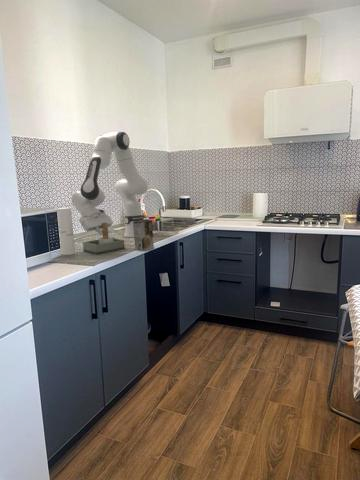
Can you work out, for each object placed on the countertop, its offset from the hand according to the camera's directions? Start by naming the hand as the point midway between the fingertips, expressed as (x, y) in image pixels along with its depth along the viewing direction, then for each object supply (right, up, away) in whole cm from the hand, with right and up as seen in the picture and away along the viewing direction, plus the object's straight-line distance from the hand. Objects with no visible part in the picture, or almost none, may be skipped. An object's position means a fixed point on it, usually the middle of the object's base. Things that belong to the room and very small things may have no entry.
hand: (105, 233), depth 201 cm
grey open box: (-1, -9, +4) cm, 10 cm away
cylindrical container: (-20, -11, -3) cm, 23 cm away
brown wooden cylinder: (0, -7, +1) cm, 7 cm away
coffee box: (+22, -9, +1) cm, 24 cm away
